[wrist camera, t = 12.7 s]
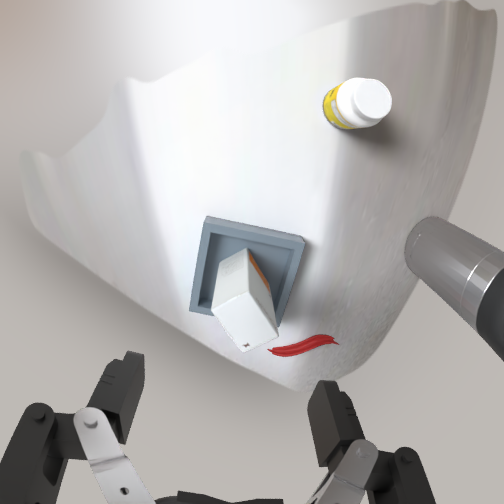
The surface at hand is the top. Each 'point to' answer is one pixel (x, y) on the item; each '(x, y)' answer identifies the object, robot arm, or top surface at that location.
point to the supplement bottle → (357, 103)
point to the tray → (261, 248)
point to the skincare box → (244, 302)
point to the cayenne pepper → (303, 346)
